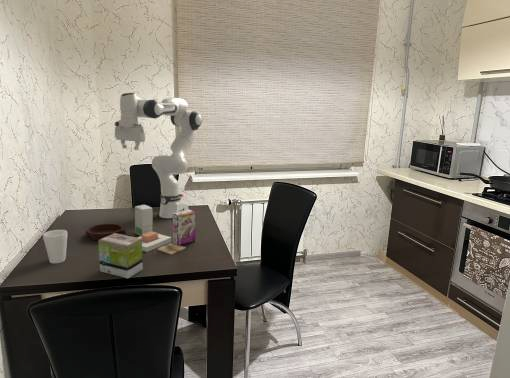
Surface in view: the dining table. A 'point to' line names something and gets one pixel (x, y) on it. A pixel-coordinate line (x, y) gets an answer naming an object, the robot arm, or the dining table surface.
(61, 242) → the foam cup
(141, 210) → the skincare box
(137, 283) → the dining table surface
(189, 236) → the candy bar box
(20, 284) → the dining table surface
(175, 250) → the cork pad
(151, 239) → the part
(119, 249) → the tea box
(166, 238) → the pocket board
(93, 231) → the dish
